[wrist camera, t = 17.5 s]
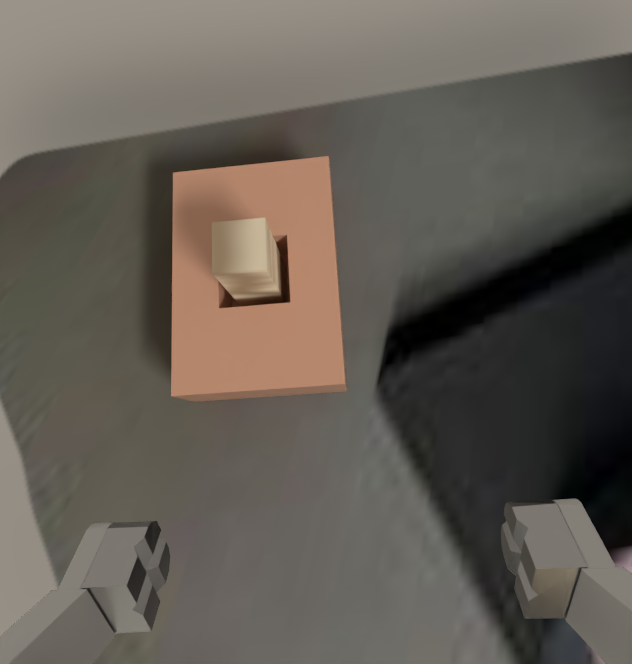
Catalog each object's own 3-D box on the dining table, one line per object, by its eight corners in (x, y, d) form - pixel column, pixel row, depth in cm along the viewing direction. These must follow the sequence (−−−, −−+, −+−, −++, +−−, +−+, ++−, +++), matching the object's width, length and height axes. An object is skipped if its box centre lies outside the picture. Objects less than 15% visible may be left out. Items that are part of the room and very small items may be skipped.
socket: (332, 188, 48) (328, 156, 42) (347, 391, 43) (345, 384, 38) (193, 202, 49) (172, 172, 44) (194, 401, 44) (171, 396, 39)
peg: (285, 265, 45) (264, 217, 36) (287, 306, 45) (266, 268, 35) (243, 269, 46) (211, 222, 36) (244, 310, 45) (212, 273, 35)
